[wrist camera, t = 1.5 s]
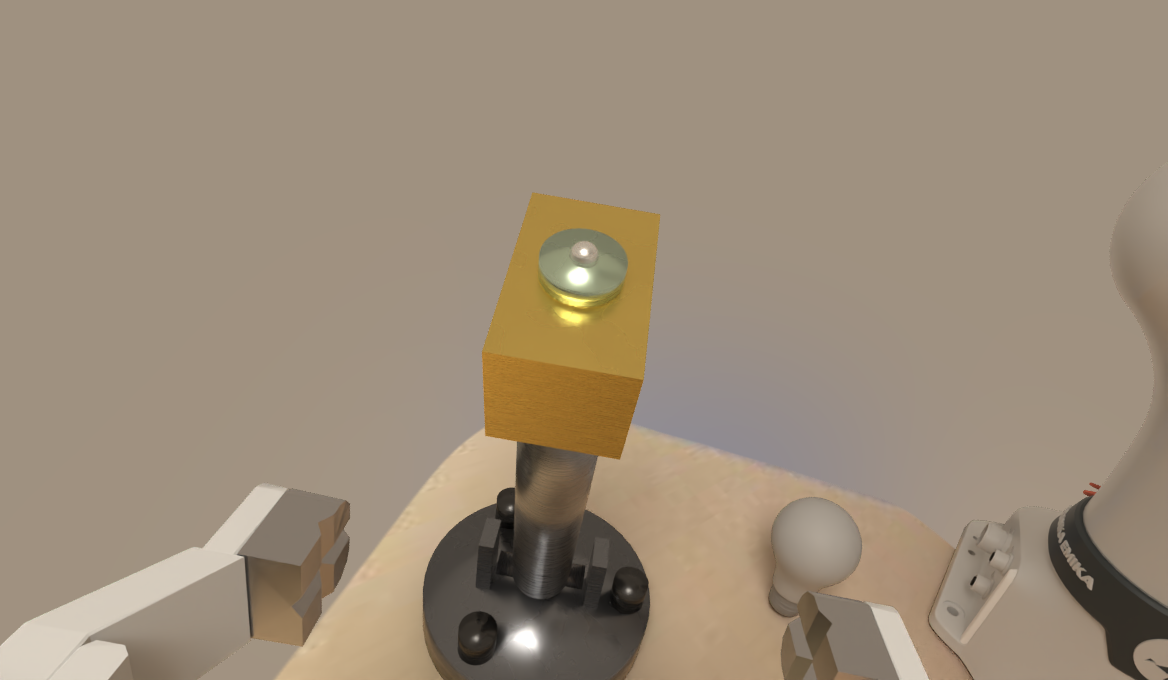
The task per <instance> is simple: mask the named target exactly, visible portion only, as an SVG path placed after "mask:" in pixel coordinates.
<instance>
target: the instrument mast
mask: <svg viewBox="0 0 1168 680" xmlns="http://www.w3.org/2000/svg"><path fill="white" fill-rule="evenodd" d="M659 221H660V214H655V213H649V212H643V211H637V210H631V209H625V208H620V207H614V206H608V205H602V204H597V203H590V202H584V201H579V200H573V199H567V198H562V197H555V196H550V195H544V194H538V193H532V196H531V199H530V202H529V206H528V208H527V212H526V215H525V218H524V221H523V224H522V227H521V231H520V234H519V237H518V240H517V243H516V246H515V249H514V253H513V256H512V259H511V262H510V265H509V268H508V272H507V275H506V278H505V281H504V284H503V287H502V290H501V294H500V297H499V300H498V303H497V306H496V309H495V312H494V316H493V319H492V322H491V325H490V328H489V331H488V335H487V338H486V341H485V344H484V347H483V350H482V362H483V387H484V413H485V436H489V437H495V438H501V439H506V440H512V441H517V459H516V486H515V513H514V540H513V552H508V551H502V550H501V552H500V556H499V560H498V565H497V571H496V574H498V575H504V576H509V577H513V579H514V582H515V584H516V586H517V587H518V589H519V590H520V591H521V592H522V593H524V594H525V595H527V596H528V597H531V598H534V599H548V598H551V597H553V596H555V595H557V594H558V593H559V592H561V591H562V589H563V588H564V587H570V588H576V589H581V590H582V586H583V581H584V574H585V565H580V564H575V563H572V562H573V558H574V554H575V549H576V545H577V541H578V537H579V533H580V528H581V524H582V520H583V516H584V512H585V507H586V503H587V499H588V495H589V491H590V487H591V482H592V478H593V474H594V470H595V466H596V461H597V457H598V456H602V457H608V458H614V459H619V460H620V458H621V454H622V451H623V448H624V444H625V441H626V437H627V434H628V431H629V427H630V424H631V420H632V417H633V413H634V410H635V407H636V404H637V400H638V397H639V394H640V390H641V387H642V383H643V380H644V371H645V360H646V351H647V341H648V331H649V320H650V311H651V301H652V290H653V281H654V271H655V261H656V251H657V241H658V231H659Z"/></svg>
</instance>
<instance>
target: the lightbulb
mask: <svg viewBox="0 0 1168 680" xmlns="http://www.w3.org/2000/svg"><path fill="white" fill-rule="evenodd" d="M771 542H772V547H773V552H774V556H775V559H776V569H775V572H774V575H773V585H772V588H771V590H770V594H769V601H770V604H771V605H772V607H773V608H774V609H775V610H776V611H777V612H778V613H780V614H781V615H784V616H789V617H793V616H796V615H798V614H799V612H798V608H797V605H798V603H799V600H800V598H801V596H802V595H803V594H804V593H806V592H807V591H810V592H816V593H817V592H818V591H819V590H820V589H822V588H825V587H829V586H832V585H835V584H838V583H840V582H842V581H844V580H845V579H846V578H848V577H849V576H850V575H851V574H852V573H853V572H854V571H855V569H856V567H857V566H858V563H859V561H860V558H861V552H862V540H861V535H860V532H859V530H858V527H857V525H856V524H855V522H854V520H853V519H852V517H851V516H850V515H849V514H848V513H847V512H846V511H845V510H844V509H843V508H842V507H840V506H839V505H837V504H835V503H833V502H831V501H829V500H826V499H823V498H817V497H809V498H802V499H798V500H796V501H793V502H791V503H790V504H788V505H787V506H786V507H784V508H783V509H782V510H781V511H780V513H779V514H778V515H777V517H776V519H775V521H774V523H773V527H772V533H771Z"/></svg>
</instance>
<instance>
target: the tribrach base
mask: <svg viewBox="0 0 1168 680" xmlns="http://www.w3.org/2000/svg"><path fill="white" fill-rule="evenodd" d="M514 513H515V488H507V489H504V490H502V491H501V492H500V493H499V494H498V496H497V503H496V504H493V505H490V506H488V507H485V508H483V509H480V510H478V511H477V512H475V513H473V514H471V515H469V516H468V517H466V518H465V519H463V520H462V521H461V522H459V523H458V524H457V525H456V526H455V527H453V528H452V529H451V530H450V531H449V532H448V533H447V534H446V536H445V537H444V538H443V539H442V540H441V542H440V543H439V545H438V546H437V548H436V549H435V551H434V553H433V555H432V557H431V559H430V561H429V564H428V567H427V571H426V574H425V579H424V586H423V631H424V637H425V643H426V646H427V649H428V652H429V655H430V657H431V659H432V661H433V663H434V665H435V667H436V669H437V671H438V672H439V674H440V675H441V676H442V678H443V679H444V680H624V679H625V678H626V676H627V675H628V673H629V671H630V670H631V668H632V666H633V664H634V661H635V659H636V656H637V654H638V651H639V648H640V645H641V642H642V639H643V635H644V632H645V629H646V625H647V621H648V617H649V608H650V596H649V587H648V579H647V577H646V575H645V572H644V569H643V566H642V564H641V562H640V560H639V558H638V556H637V554H636V553H635V551H634V550H633V548H632V547H631V545H630V544H629V543H628V542H627V541H626V539H625V538H624V537H623V536H622V535H621V534H620V533H619V532H618V531H617V530H616V529H615V528H614V527H612V526H611V525H610V524H608V523H607V522H606V521H604V520H603V519H602V518H600V517H598V516H596V515H595V514H593V513H591V512H589V511H587V510H585V512H584V516H583V520H582V524H581V528H580V533H579V537H578V541H577V545H576V549H575V554H574V558H573V562H572V563H575V564H580V565H585V574H584V581H583V586H582V590H581V589H576V588H570V587H564V588H563V589H562V591H561V592H559V593H558V594H557V595H555V596H553V597H551V598H548V599H534V598H531V597H528V596H527V595H525V594H524V593H522V592H521V591H520V590H519V589H518V587H517V586H516V584H515V582H514V579H513V577H509V576H504V575H498V574H496V571H497V565H498V560H499V556H500V552H501V550H502V551H508V552H513V540H514Z"/></svg>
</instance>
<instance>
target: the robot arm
mask: <svg viewBox="0 0 1168 680" xmlns="http://www.w3.org/2000/svg"><path fill="white" fill-rule="evenodd" d="M1110 266H1111V272H1112V277H1113V279H1114V282H1115V285H1116V288H1117V290H1118V291H1119V294H1120V296H1121V297H1122V299H1123V301H1124V302H1125V303H1126V304H1127V306H1128V307H1129V308H1130V310H1131V311H1132V313H1133V314H1134V316H1135V317H1136V319H1137V321H1138V323H1139V324H1140V326H1141V328H1142V330H1143V333H1144V335H1145V337H1146V340H1147V343H1148V346H1149V349H1150V353H1151V357H1152V362H1153V371H1154V387H1153V395H1152V401H1151V404H1150V408H1149V411H1148V414H1147V417H1146V419H1145V421H1144V423H1143V425H1142V427H1141V429H1140V430H1139V432H1138V434H1137V435H1136V437H1135V438H1134V440H1133V442H1132V443H1131V445H1130V446H1129V448H1128V450H1127V451H1126V453H1125V454H1124V456H1123V457H1122V458H1121V460H1120V461H1119V463H1118V465H1117V466H1116V467H1115V469H1114V470H1113V471H1112V473H1111V474H1110V475H1109V477H1108V478H1107V479H1106V481H1105V482H1104V484H1103V485H1102V486H1099V485H1096V484H1094V483H1090V485H1091V486H1092V487H1094V488H1097V489H1099V490H1098V491H1097V492H1092V491H1087V490H1084V491H1083V493H1084V494H1085V495H1087V496H1089V497H1086V498H1084V499H1083V500H1081V501H1080V502H1078V503H1077V504H1075V505H1074V506H1070V507H1068V508H1067V509H1066V510H1064V511H1063V512H1062V511H1058V510H1053V509H1049V508H1043V507H1023V508H1020V509H1018V510H1017V511H1015V512H1014V513H1013V515H1012V516H1011V517H1010V518H1009V520H1008V521H1007V522H1006V523H1005V524H1001V523H996V522H991V521H982V520H973V521H971V522H970V523H969V524H968V525H967V526H966V527H965V529H964V531H963V533H962V535H961V538H960V540H959V543H958V545H957V548H956V550H955V553H954V555H953V557H952V560H951V562H950V565H949V567H948V570H947V572H946V575H945V577H944V580H943V582H942V585H941V587H940V590H939V592H938V595H937V597H936V600H935V602H934V605H933V607H932V610H931V612H930V615H929V623H930V625H931V627H932V628H933V630H934V631H935V632H936V633H937V635H938V636H939V637H940V638H941V639H942V640H943V641H944V642H945V643H946V644H947V645H948V646H949V647H950V648H951V649H952V650H953V651H954V652H955V653H956V654H957V655H958V656H959V657H960V658H961V660H962V661H963V663H964V664H965V666H966V667H967V669H968V670H969V672H970V674H971V675H972V677H973V679H974V680H1168V162H1167V163H1165V164H1164V165H1163V166H1161V167H1160V168H1159V169H1157V170H1156V171H1155V172H1154V173H1153V174H1152V175H1150V176H1149V177H1148V178H1147V179H1146V180H1145V181H1144V182H1143V183H1142V184H1141V185H1140V186H1139V187H1138V188H1137V190H1136V191H1135V192H1134V193H1133V194H1132V195H1131V197H1130V198H1129V200H1128V201H1127V203H1126V204H1125V206H1124V208H1123V209H1122V211H1121V213H1120V215H1119V217H1118V219H1117V221H1116V224H1115V227H1114V230H1113V234H1112V238H1111V244H1110ZM349 519H350V504H349V503H348V502H347V501H346V500H342V499H337V498H333V497H328V496H324V495H319V494H315V493H310V492H306V491H301V490H297V489H289V488H284V487H280V486H276V485H271V484H267V483H263V484H261V485H259V486H257V487H255V488H254V489H253V490H252V492H251V493H250V494H249V495H248V496H247V497H246V499H245V500H244V501H243V502H242V503H241V505H239V507H238V508H237V509H236V510H235V511H234V512H233V514H232V515H231V516H230V517H229V518H228V519H227V520H226V522H225V523H224V524H223V525H222V526H221V527H220V529H219V530H218V531H217V532H216V533H215V534H214V535H213V537H212V538H211V539H210V540H209V541H208V542H207V544H206V545H205V546H204V547H203V548H197V547H192V548H190V549H188V550H185V551H183V552H181V553H179V554H177V555H174V556H172V557H170V558H168V559H166V560H163V561H161V562H159V563H156V564H154V565H152V566H150V567H148V568H145V569H143V570H141V571H139V572H136V573H134V574H132V575H130V576H128V577H125V578H123V579H121V580H119V581H116V582H114V583H112V584H110V585H108V586H105V587H103V588H101V589H99V590H97V591H94V592H92V593H90V594H88V595H85V596H83V597H81V598H79V599H76V600H74V601H72V602H70V603H68V604H66V605H63V606H61V607H59V608H56V609H55V610H52V611H50V612H48V613H45V614H43V615H41V616H39V617H37V618H34V619H32V620H30V621H28V622H26V623H24V624H23V625H22V626H21V627H20V628H19V629H18V630H17V631H16V632H15V633H14V634H12V635H11V636H10V637H9V638H8V639H7V640H6V641H5V642H4V643H3V644H2V645H1V646H0V680H197V679H198V678H200V677H202V676H203V675H204V674H206V673H207V672H208V671H210V670H211V669H213V668H214V667H215V666H217V665H218V664H219V663H221V662H222V661H224V660H225V659H227V658H228V657H229V656H231V655H232V654H233V653H235V652H236V651H238V650H239V649H240V648H242V647H243V646H245V645H246V644H248V643H249V642H250V641H251V638H254V639H259V640H266V641H272V642H278V643H284V644H290V645H296V646H302V647H303V645H304V643H305V642H306V640H307V638H308V636H309V635H310V633H311V631H312V629H313V627H314V626H315V624H316V622H317V620H318V619H319V617H320V615H321V613H322V598H324V597H325V596H327V595H329V594H330V593H332V592H334V589H335V588H336V586H337V584H338V582H339V580H340V579H341V576H342V573H343V570H344V567H345V565H346V562H347V557H348V552H349V536H348V535H347V533H346V532H345V531H344V527H345V525H346V524H347V522H348V520H349ZM797 608H798V612H799V616H800V617H799V618H798V619H796V620H794V621H792V622H791V623H789V624H788V626H787V629H786V631H785V634H784V636H783V641H782V649H781V662H782V670H783V675H784V680H929V678H928V676H927V673H926V671H925V669H924V667H923V665H922V662H921V660H920V658H919V656H918V654H917V652H916V649H915V647H914V645H913V643H912V641H911V638H910V636H909V634H908V632H907V630H906V628H905V625H904V623H903V621H902V619H901V617H900V615H899V613H898V611H897V610H896V609H895V608H894V607H892V606H887V605H881V604H876V603H870V602H865V601H864V602H862V601H858V600H853V599H848V598H842V597H837V596H832V595H826V594H821V593H816V592H810V591H807V592H806V593H804V594H803V595H802V596H801V598H800V600H799V603H798V605H797Z"/></svg>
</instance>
